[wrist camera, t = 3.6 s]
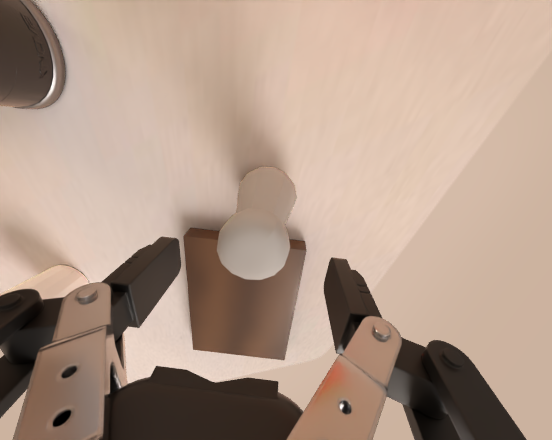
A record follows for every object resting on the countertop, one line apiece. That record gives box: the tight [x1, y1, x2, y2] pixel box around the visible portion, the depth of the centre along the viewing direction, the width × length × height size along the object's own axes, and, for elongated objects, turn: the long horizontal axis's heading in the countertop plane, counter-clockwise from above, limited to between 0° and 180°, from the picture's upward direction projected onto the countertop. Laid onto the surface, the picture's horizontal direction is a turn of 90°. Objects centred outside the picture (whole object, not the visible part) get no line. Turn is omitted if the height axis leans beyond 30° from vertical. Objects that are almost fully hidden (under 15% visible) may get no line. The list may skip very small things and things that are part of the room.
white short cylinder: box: [0, 265, 89, 299], centre depth 28 cm, size 7×7×7 cm
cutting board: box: [184, 228, 306, 360], centre depth 29 cm, size 14×20×2 cm
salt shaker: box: [217, 167, 297, 280], centre depth 18 cm, size 6×6×13 cm
